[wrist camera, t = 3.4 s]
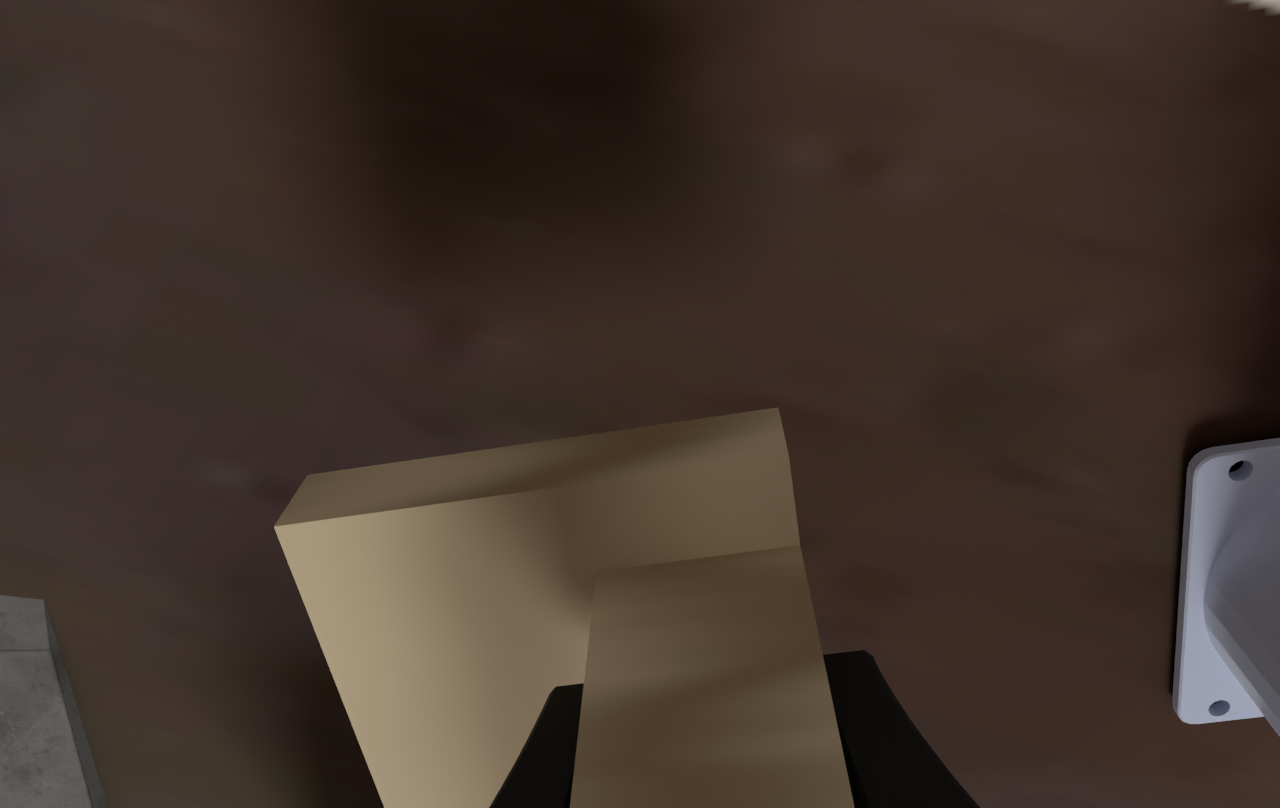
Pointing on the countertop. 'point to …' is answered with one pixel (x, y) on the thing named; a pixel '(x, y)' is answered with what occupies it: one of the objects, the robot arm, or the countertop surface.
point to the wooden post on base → (577, 617)
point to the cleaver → (40, 717)
